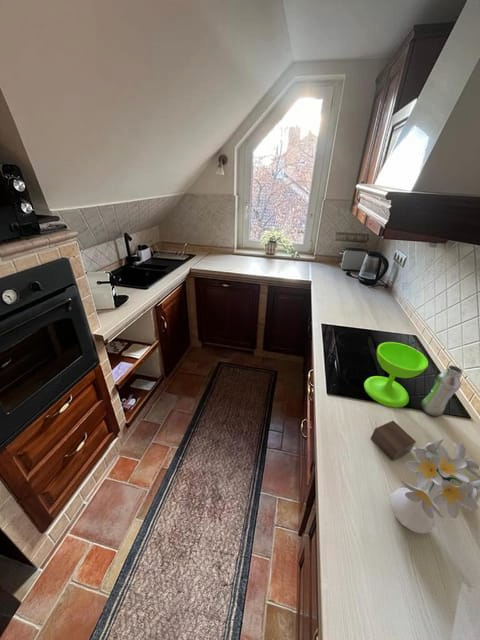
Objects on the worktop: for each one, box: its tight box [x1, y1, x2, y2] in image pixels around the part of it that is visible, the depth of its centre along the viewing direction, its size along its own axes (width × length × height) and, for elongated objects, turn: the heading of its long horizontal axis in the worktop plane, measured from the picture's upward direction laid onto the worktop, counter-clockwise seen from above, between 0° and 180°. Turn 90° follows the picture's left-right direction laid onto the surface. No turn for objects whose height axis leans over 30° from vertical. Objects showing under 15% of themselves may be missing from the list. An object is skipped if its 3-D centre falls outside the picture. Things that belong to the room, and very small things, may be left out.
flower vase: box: [389, 437, 480, 535], centre depth 56 cm, size 13×18×25 cm
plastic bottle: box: [420, 365, 463, 417], centre depth 87 cm, size 6×7×20 cm
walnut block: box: [370, 420, 417, 462], centre depth 79 cm, size 8×8×5 cm
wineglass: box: [363, 341, 429, 409], centre depth 95 cm, size 16×16×18 cm
